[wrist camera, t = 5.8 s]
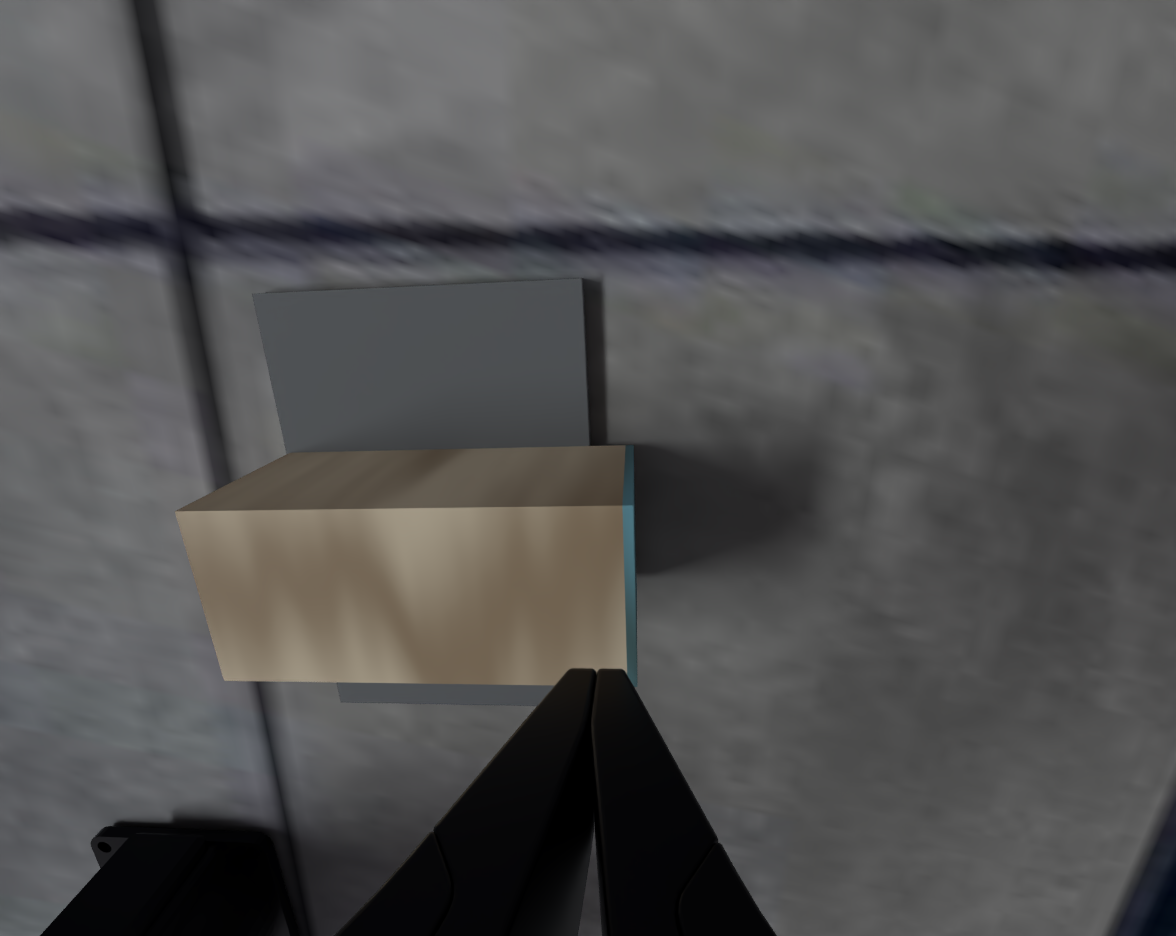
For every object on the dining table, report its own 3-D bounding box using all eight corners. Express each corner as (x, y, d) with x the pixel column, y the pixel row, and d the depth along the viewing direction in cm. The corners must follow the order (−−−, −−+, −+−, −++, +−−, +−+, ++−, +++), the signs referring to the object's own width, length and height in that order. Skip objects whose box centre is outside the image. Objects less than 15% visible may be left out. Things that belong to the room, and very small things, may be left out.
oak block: (637, 686, 12) (224, 680, 13) (636, 586, 16) (319, 586, 16) (633, 505, 10) (175, 511, 11) (633, 445, 14) (290, 452, 15)
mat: (601, 697, 17) (601, 707, 17) (347, 693, 18) (340, 702, 18) (583, 278, 14) (581, 278, 13) (262, 293, 14) (252, 293, 14)
